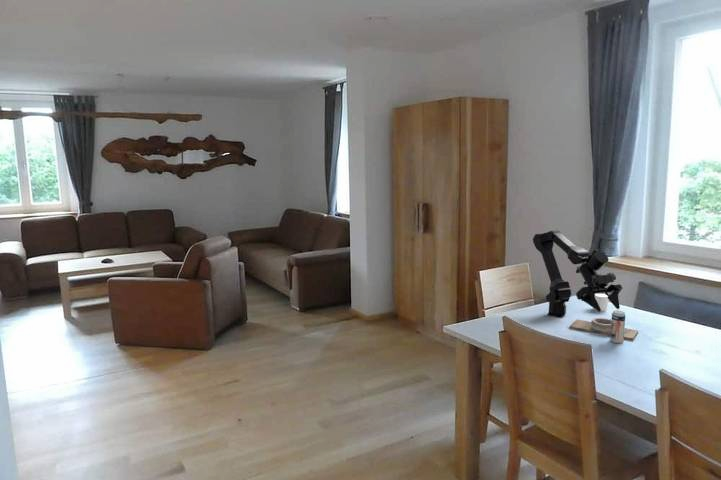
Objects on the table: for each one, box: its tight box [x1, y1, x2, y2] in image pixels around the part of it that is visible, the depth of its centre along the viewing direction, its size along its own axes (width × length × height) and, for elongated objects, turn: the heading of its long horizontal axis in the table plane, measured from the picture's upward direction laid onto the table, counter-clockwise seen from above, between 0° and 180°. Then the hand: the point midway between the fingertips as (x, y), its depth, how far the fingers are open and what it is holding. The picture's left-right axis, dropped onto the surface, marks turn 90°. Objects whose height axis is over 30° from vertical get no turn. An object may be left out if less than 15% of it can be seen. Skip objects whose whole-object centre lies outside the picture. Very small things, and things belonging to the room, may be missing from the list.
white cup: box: [593, 293, 610, 312], centre depth 239 cm, size 7×7×7 cm
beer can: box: [609, 309, 627, 344], centre depth 198 cm, size 5×5×12 cm
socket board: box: [569, 317, 639, 342], centre depth 211 cm, size 24×11×4 cm, turn 52°
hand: (609, 309), depth 202 cm, fingers open, 9 cm apart
